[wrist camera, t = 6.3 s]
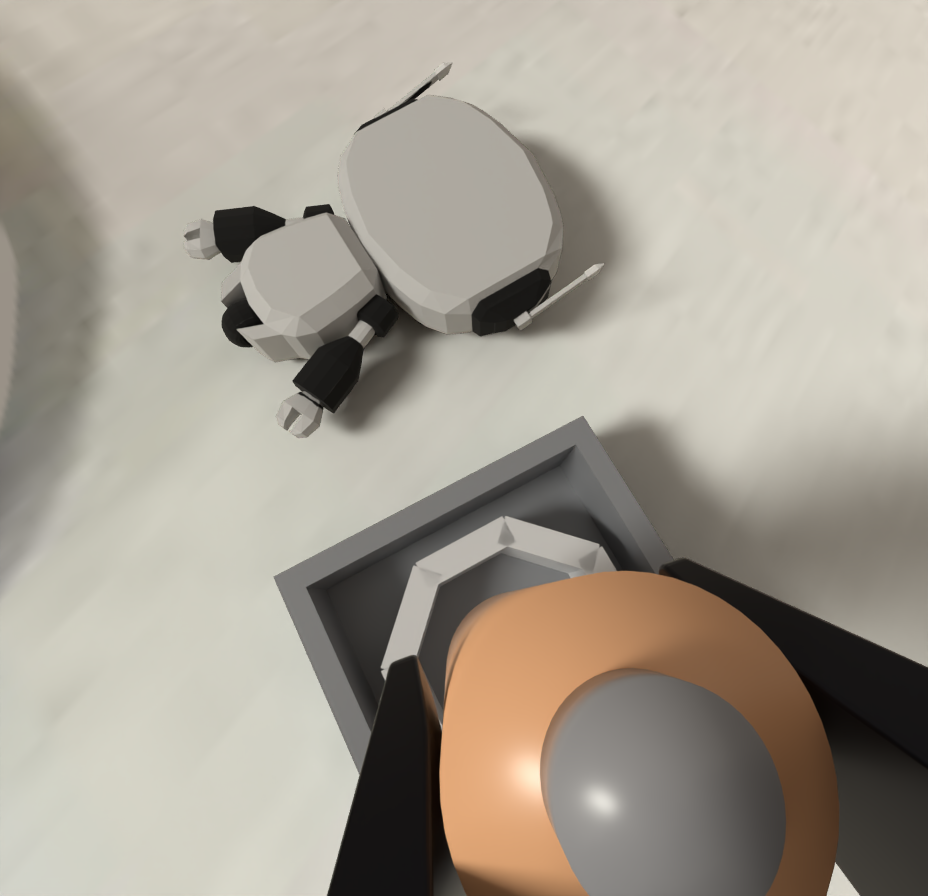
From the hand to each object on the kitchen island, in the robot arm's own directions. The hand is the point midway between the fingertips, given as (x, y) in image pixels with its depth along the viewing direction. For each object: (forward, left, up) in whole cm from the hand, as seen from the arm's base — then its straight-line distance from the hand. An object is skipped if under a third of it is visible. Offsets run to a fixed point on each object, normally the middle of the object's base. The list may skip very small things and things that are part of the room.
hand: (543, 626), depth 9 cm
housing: (-1, 0, -14) cm, 14 cm away
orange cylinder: (-1, 0, -7) cm, 7 cm away
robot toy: (+15, -3, -14) cm, 21 cm away
